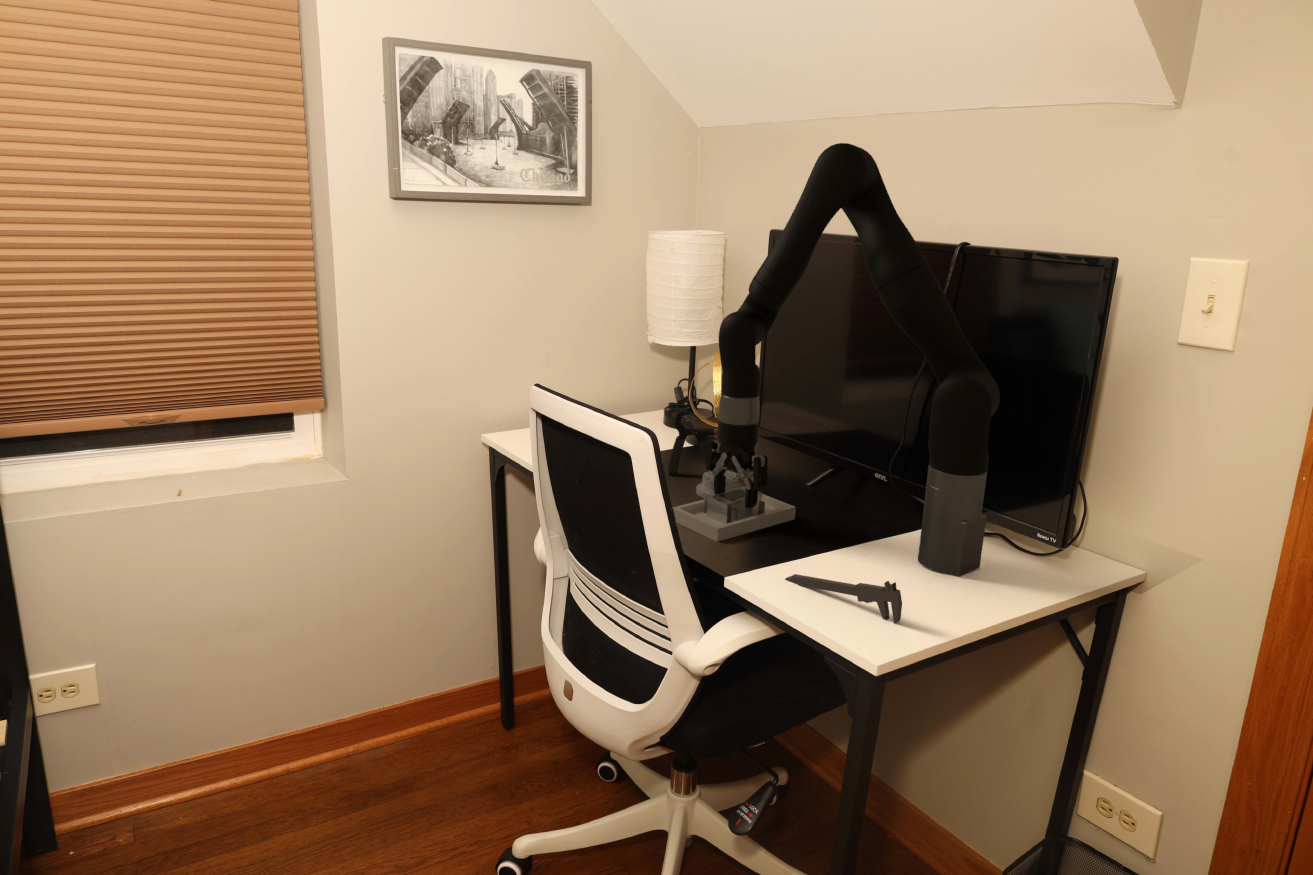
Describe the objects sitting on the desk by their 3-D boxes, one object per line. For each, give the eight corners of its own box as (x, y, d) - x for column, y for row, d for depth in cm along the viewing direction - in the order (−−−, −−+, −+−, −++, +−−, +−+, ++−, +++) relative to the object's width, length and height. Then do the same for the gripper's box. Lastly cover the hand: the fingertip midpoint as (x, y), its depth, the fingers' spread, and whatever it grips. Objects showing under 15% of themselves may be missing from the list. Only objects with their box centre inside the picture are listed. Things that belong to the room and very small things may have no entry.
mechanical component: (706, 504, 175) (751, 500, 178) (706, 483, 173) (752, 479, 176) (689, 488, 184) (733, 485, 187) (690, 468, 183) (734, 465, 185)
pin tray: (794, 519, 167) (796, 499, 166) (717, 541, 155) (718, 520, 154) (747, 500, 177) (748, 481, 176) (671, 520, 165) (672, 500, 164)
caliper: (900, 624, 128) (904, 584, 126) (896, 626, 127) (900, 586, 125) (788, 579, 141) (791, 543, 140) (784, 581, 141) (787, 545, 139)
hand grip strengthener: (723, 481, 189) (726, 414, 184) (667, 476, 191) (668, 409, 187) (725, 477, 191) (728, 411, 187) (669, 472, 193) (671, 407, 189)
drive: (761, 512, 167) (762, 492, 166) (726, 524, 161) (727, 503, 160) (741, 505, 171) (742, 485, 170) (706, 517, 164) (707, 496, 163)
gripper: (780, 423, 158) (775, 507, 162) (727, 407, 168) (724, 487, 173) (750, 429, 153) (746, 515, 157) (698, 412, 164) (695, 494, 168)
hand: (734, 500), depth 165 cm, fingers open, 8 cm apart
